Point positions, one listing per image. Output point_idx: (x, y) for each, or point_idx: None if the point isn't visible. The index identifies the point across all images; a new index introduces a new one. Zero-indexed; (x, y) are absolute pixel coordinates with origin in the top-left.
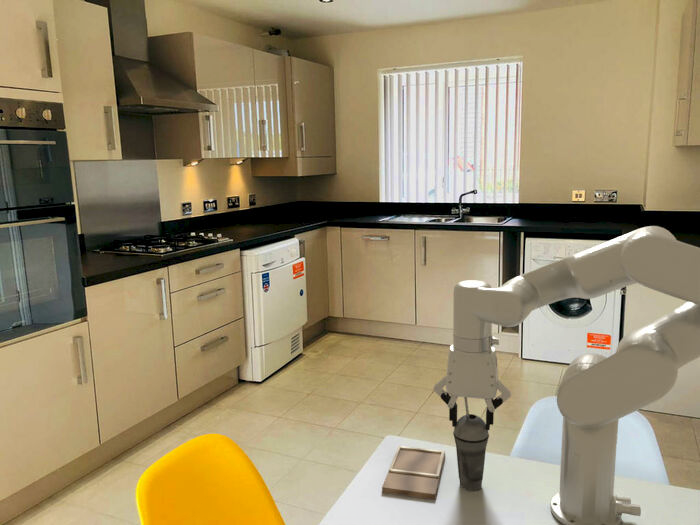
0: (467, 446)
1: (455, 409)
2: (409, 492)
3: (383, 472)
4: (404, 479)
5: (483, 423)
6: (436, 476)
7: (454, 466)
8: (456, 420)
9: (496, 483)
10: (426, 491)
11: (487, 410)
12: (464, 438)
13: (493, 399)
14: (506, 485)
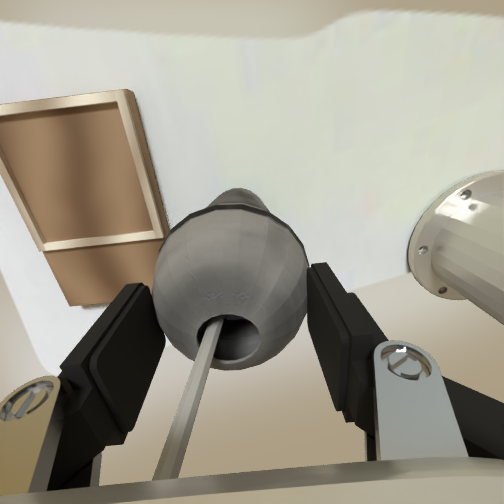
0: (234, 321)
1: (126, 433)
2: None
3: (28, 230)
4: (95, 267)
5: (297, 320)
6: (158, 237)
7: (177, 138)
8: (151, 325)
9: (296, 186)
10: None
11: (349, 406)
12: (221, 343)
13: (450, 414)
14: (320, 187)
